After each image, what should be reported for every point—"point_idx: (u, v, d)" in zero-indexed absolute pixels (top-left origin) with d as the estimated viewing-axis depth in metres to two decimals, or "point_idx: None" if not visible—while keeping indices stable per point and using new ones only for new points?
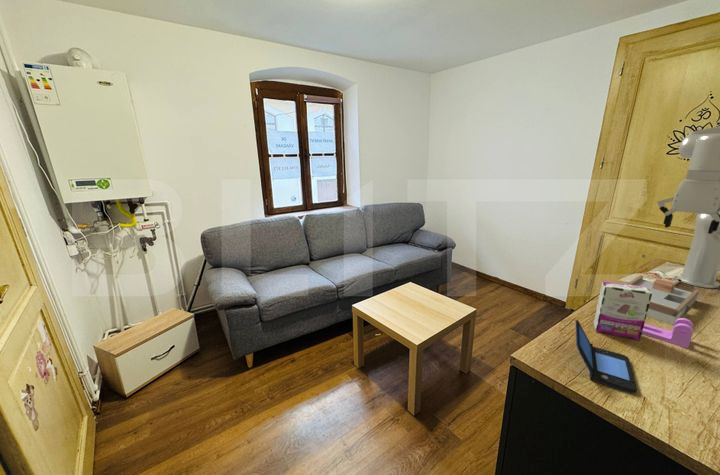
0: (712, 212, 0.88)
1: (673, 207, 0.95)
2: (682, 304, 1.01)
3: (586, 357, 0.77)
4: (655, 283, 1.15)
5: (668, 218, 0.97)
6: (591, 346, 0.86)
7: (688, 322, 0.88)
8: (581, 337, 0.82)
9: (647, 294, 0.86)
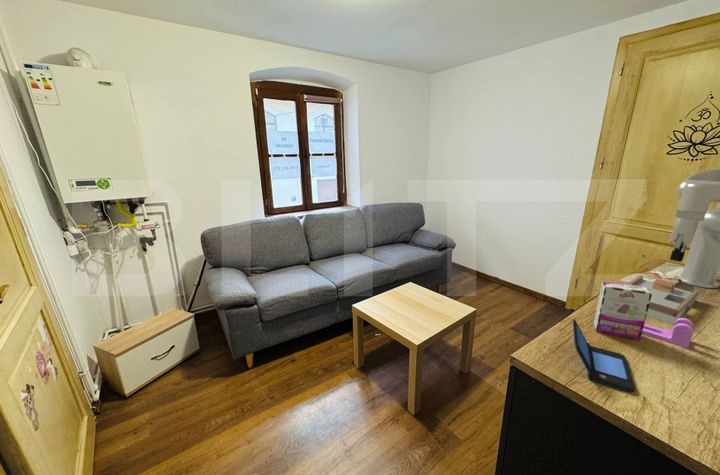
0: (691, 240, 1.14)
1: (686, 243, 1.10)
2: (682, 304, 1.01)
3: (584, 357, 0.77)
4: (655, 283, 1.15)
5: (683, 254, 1.14)
6: (588, 345, 0.86)
7: (688, 322, 0.88)
8: (579, 337, 0.82)
9: (647, 294, 0.86)
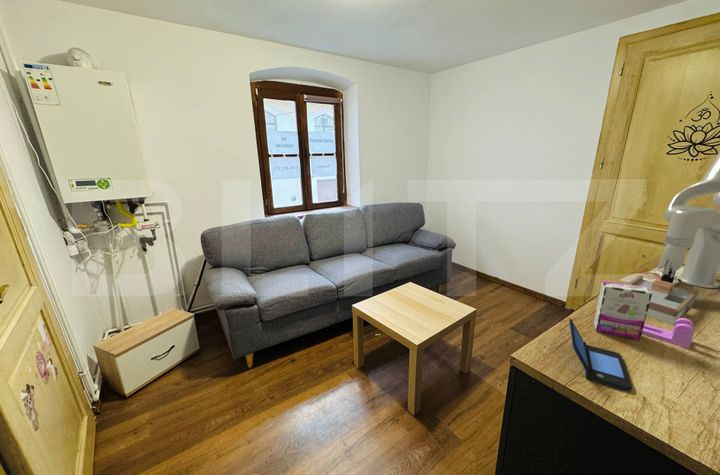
0: None
1: (675, 270, 1.10)
2: (682, 304, 1.01)
3: (582, 356, 0.77)
4: (653, 284, 1.14)
5: (672, 279, 1.14)
6: (585, 344, 0.86)
7: (689, 322, 0.88)
8: (576, 336, 0.82)
9: (647, 294, 0.86)
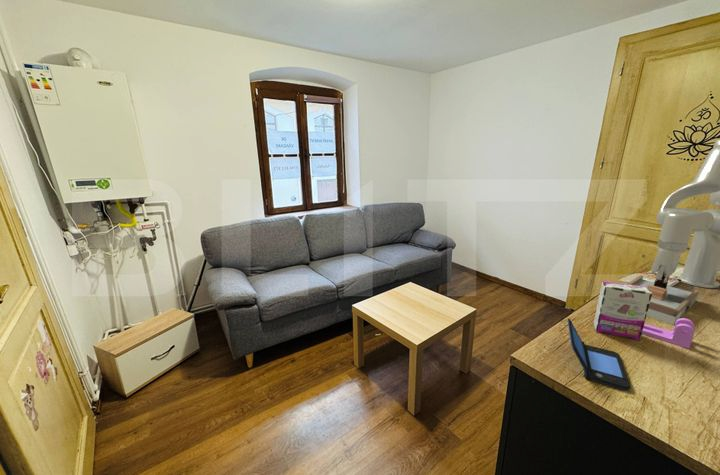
0: (674, 270, 1.10)
1: (668, 275, 1.06)
2: (682, 304, 1.01)
3: (581, 356, 0.77)
4: None
5: (666, 285, 1.10)
6: (583, 344, 0.87)
7: (689, 322, 0.88)
8: (574, 336, 0.82)
9: (647, 294, 0.86)
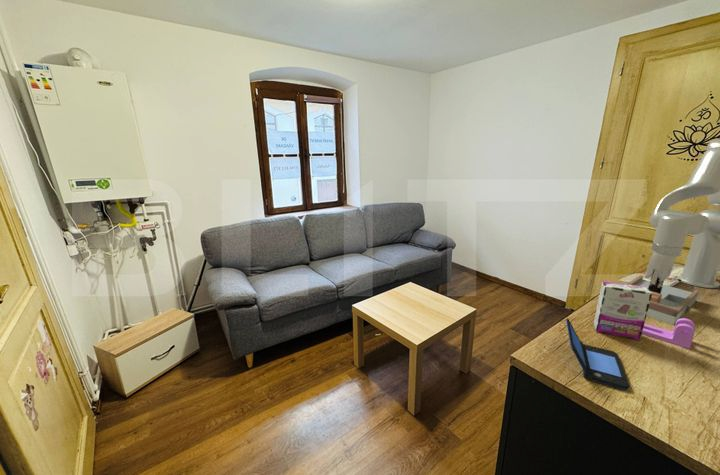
0: (669, 275, 1.07)
1: (662, 280, 1.03)
2: (682, 304, 1.01)
3: (579, 356, 0.77)
4: None
5: (660, 289, 1.06)
6: (581, 344, 0.87)
7: (689, 322, 0.88)
8: (573, 336, 0.82)
9: (647, 294, 0.86)
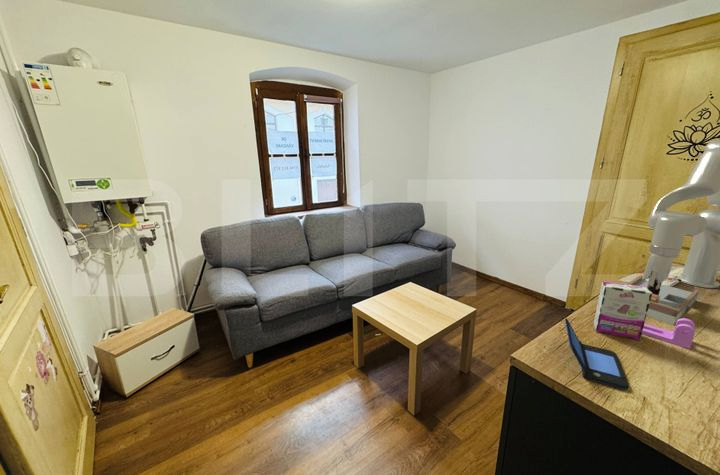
0: (667, 276, 1.06)
1: (660, 281, 1.02)
2: (682, 304, 1.01)
3: (579, 356, 0.77)
4: None
5: (658, 291, 1.05)
6: (580, 343, 0.87)
7: (690, 322, 0.88)
8: (572, 335, 0.82)
9: (647, 294, 0.86)
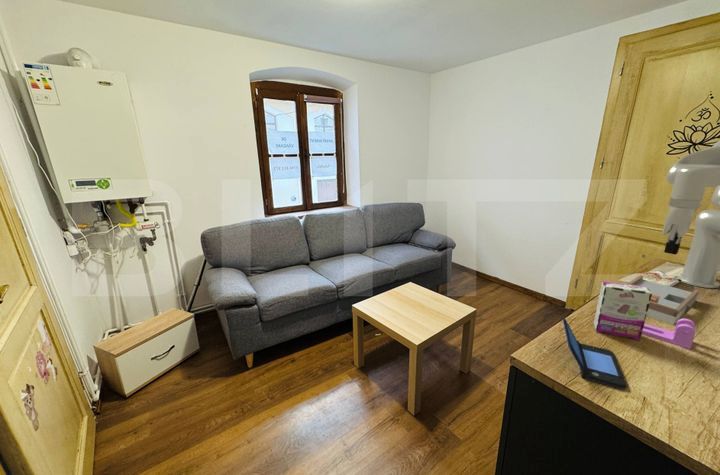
0: (687, 231, 1.04)
1: (680, 235, 1.00)
2: (682, 304, 1.01)
3: (577, 355, 0.77)
4: None
5: (678, 246, 1.04)
6: (578, 343, 0.87)
7: (690, 323, 0.88)
8: (570, 335, 0.83)
9: (647, 294, 0.86)
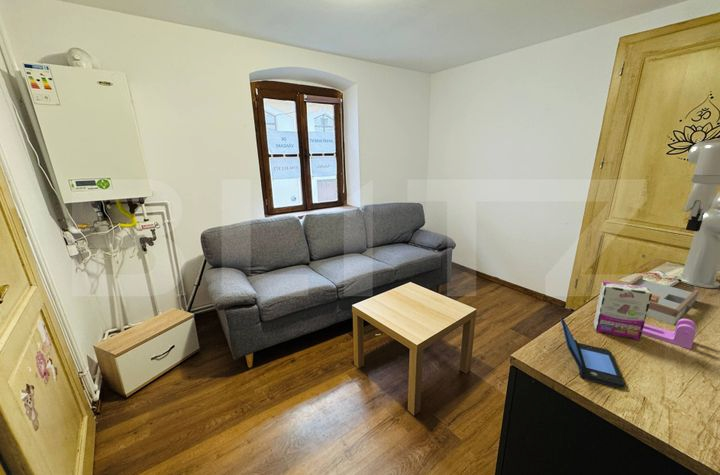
0: (709, 208, 1.06)
1: (704, 210, 1.01)
2: (682, 304, 1.01)
3: (576, 355, 0.78)
4: None
5: (700, 223, 1.05)
6: (576, 343, 0.87)
7: (691, 323, 0.88)
8: (568, 335, 0.83)
9: (647, 294, 0.86)
